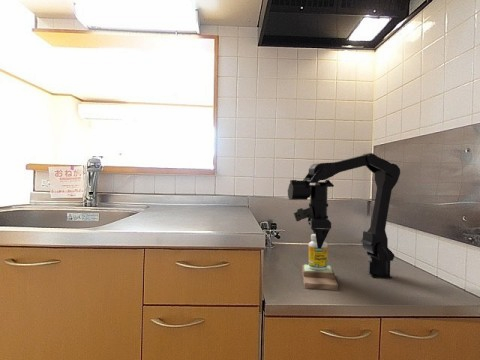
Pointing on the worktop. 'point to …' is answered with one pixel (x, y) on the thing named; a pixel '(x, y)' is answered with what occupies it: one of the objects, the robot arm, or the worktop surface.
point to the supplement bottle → (318, 255)
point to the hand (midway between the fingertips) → (318, 245)
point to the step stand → (319, 278)
